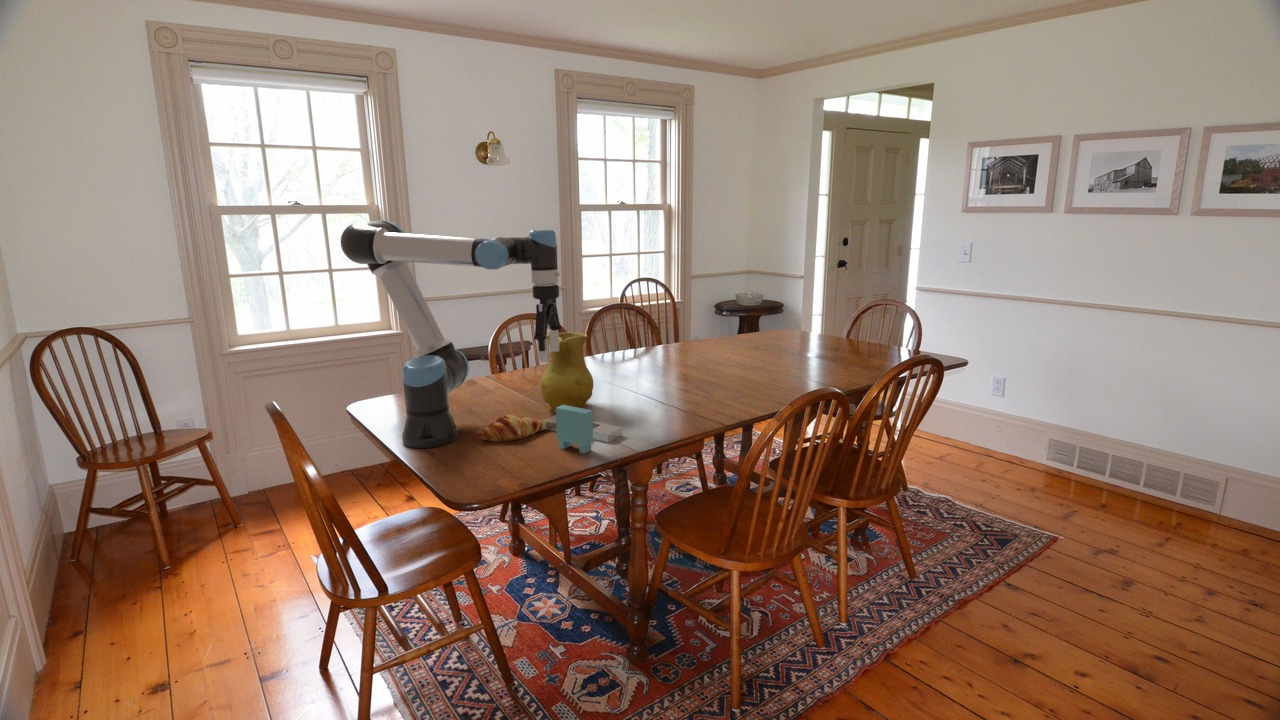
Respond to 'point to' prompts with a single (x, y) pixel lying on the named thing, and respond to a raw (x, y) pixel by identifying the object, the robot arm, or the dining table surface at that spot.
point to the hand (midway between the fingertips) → (549, 356)
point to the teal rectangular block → (574, 427)
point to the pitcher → (567, 374)
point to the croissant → (510, 428)
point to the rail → (599, 430)
